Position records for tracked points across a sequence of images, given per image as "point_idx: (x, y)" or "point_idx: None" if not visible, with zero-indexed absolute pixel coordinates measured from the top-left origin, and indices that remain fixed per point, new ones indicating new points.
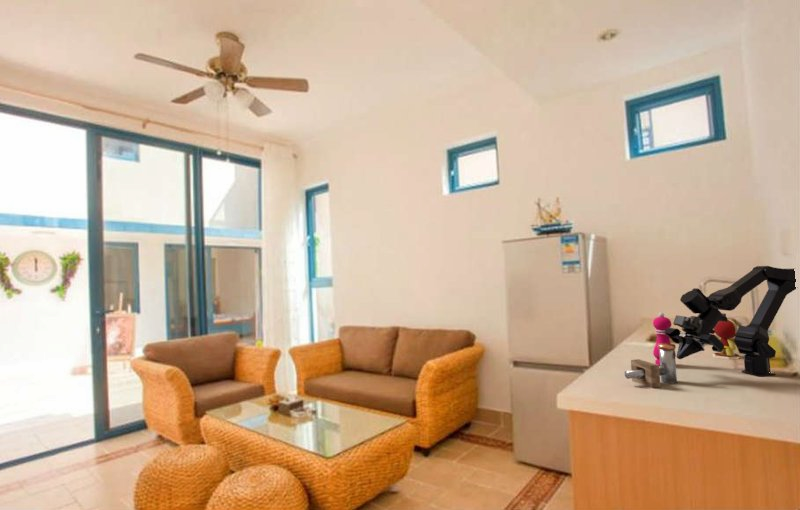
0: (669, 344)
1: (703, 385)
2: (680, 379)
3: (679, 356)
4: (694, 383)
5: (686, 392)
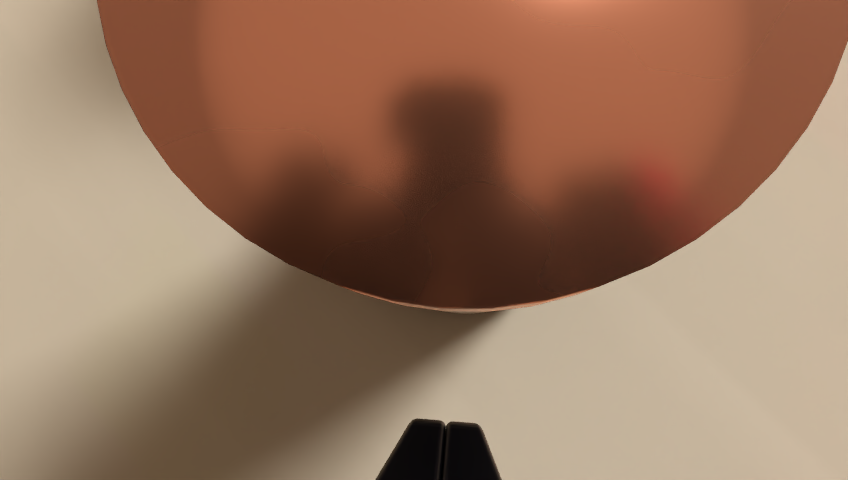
0: (452, 89)
1: (145, 471)
2: (502, 458)
3: (397, 454)
4: (265, 451)
5: (18, 26)
